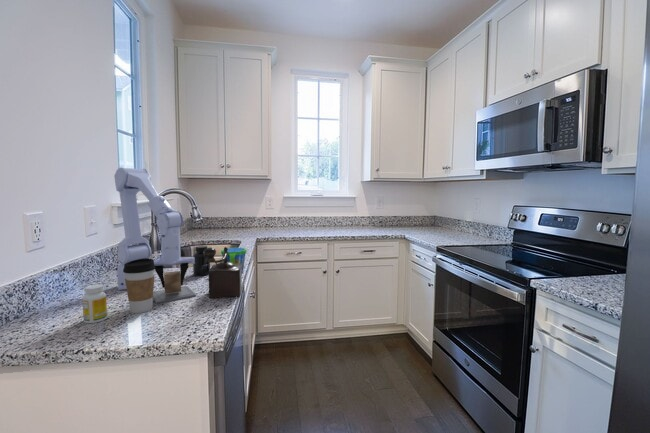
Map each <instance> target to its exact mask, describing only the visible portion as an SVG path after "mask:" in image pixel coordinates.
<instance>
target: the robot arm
mask: <svg viewBox="0 0 650 433" xmlns="http://www.w3.org/2000/svg"><path fill="white" fill-rule="evenodd" d="M151 175H152V174H150V172H149V170H148V169H146V168H128V167H122V166H121V167H118V168H117V169H116V171H115V174H114V176H113V177H114V183H115V190H116V192H118V193H119V198H120V207H121V215H122V220H123V221H122V223H123V228H124V229H123V231H124V238H123V239H121V241H119V243H118V244H117V259H118V261H119V262H120V263H119V264H117V270H116V271H117V272H116V273H117V290H118V291H121V290H127V288H126V283H125V273H124V272H123V269H124V264H125V263H127V262H130V261H134V260H137V259H144V258H150V259H151V256H152V248H151V246H150V243H149V240H148V239H147V238H146V237H145V236H144V237H143V235H142V230H141V224H140V223H141V222H140V216H139V206H138V202H137V194H138V193H139V192H141V193H142V194H143V195H144V197H145V198H146V199H147V200H148V205H147V206H148V208H149V209H150V210H151V212H152V213H153V215H154V216H155V217H156V219H157V220H156V225H157V227H158V232H159V235H160V237H161V238H160V239H161V259H156V260H153V261H154V265H155V269H154V272H155V273H156V274H157V276H158V278H159V280H160V282H161V287H162V289H165V285H164V267H168V266H177V265H178V266H179V268H180V269H179V271H180V274H181V287H183V286H184V280H185V276H186V273H187V271H188V269H189V265H190V264H191V265H193V264H195V258H194V257H193V256H191V257H189V256H188V257H182V256H181V254H182V253H181V234H180V232H181V231H180V230H181V229H180V228H181V227H183V224H184V217H183V214H182V213H181V212H180V211H179V210H176V209H173V207H172V206H171V205H170V203H169V202H168V201H167V199H166V198H165V196H162V195H159V194H158V192H157V190H156V188H155V187H154V185H153V183H152V176H151Z"/></svg>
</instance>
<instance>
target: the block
mask: <svg viewBox="0 0 650 433" xmlns="http://www.w3.org/2000/svg"><path fill="white" fill-rule="evenodd" d="M163 274H164V285H165V288H164V290H165V293H172V292H180V291H181V287H182V286H181V272H180V270H177V271H168V272H167V271H165V272H163Z"/></svg>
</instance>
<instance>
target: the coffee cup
mask: <svg viewBox="0 0 650 433" xmlns="http://www.w3.org/2000/svg"><path fill="white" fill-rule="evenodd" d="M154 261H155V260H154V259H153V258H151V257H150V258H144V259H137V260H134V261H130V262H127V263H125V264H124V269H123V272H124V273H125V283H126V288H127V289H126V295H127V300H128V307H129V312H130V313H133V314H141V313H146V312H150V311H151V310H152V309H153V306H154V302H153V301H154V298H153V292H154V287H155V286H154V285H155V273H154V272H155V265H154Z"/></svg>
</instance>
